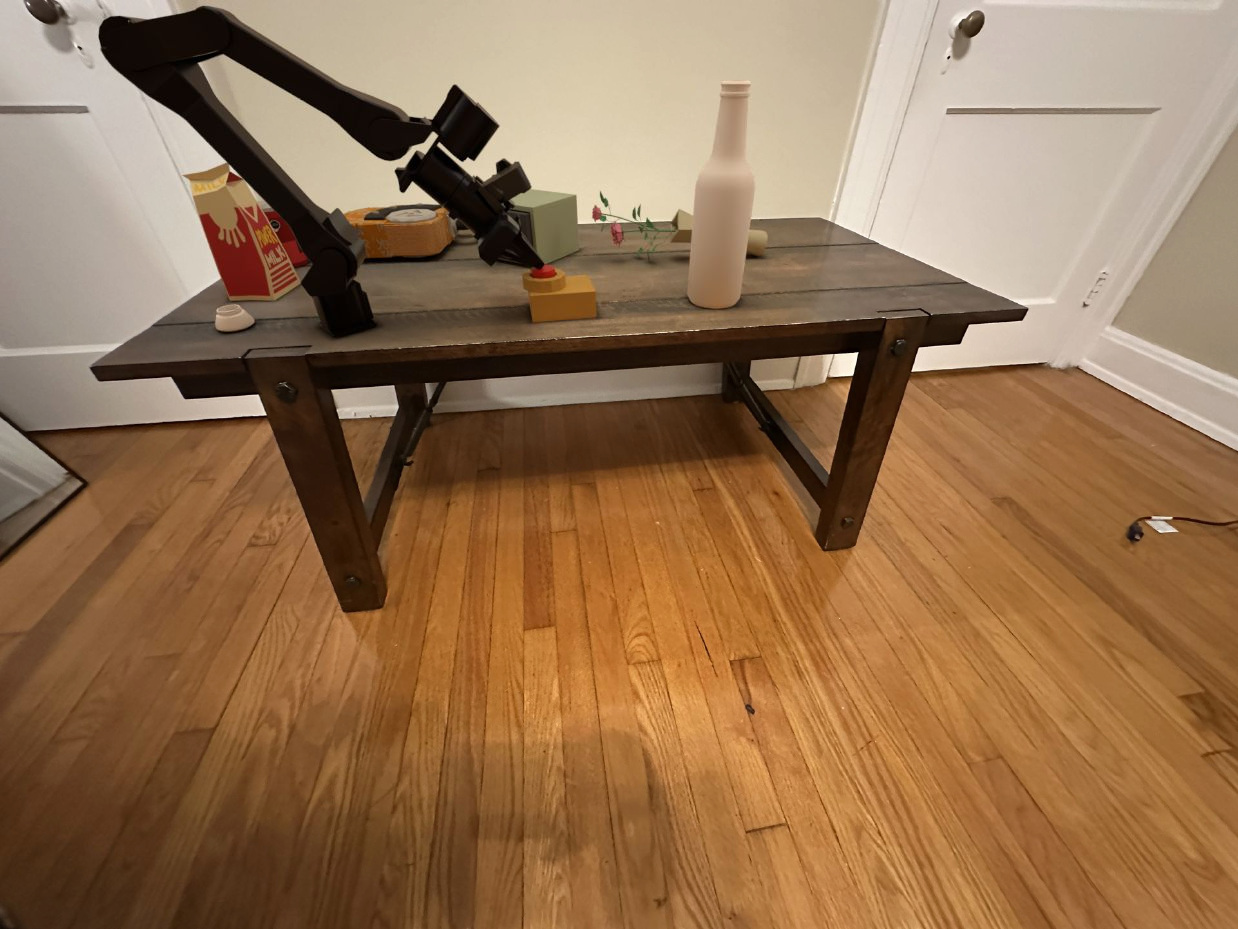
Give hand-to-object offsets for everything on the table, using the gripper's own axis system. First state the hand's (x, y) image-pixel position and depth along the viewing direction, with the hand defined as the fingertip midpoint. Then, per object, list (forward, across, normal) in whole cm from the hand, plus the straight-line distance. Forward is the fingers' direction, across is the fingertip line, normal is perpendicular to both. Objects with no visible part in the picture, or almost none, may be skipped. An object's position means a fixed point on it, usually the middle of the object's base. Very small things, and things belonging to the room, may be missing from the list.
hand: (542, 266), depth 81 cm
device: (-13, +43, +23) cm, 51 cm away
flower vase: (+26, +23, -15) cm, 38 cm away
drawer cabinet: (+5, +33, +5) cm, 34 cm away
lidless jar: (-28, +3, +38) cm, 48 cm away
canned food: (-29, +36, +39) cm, 61 cm away
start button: (+2, 0, +2) cm, 3 cm away
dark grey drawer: (+2, +30, +6) cm, 30 cm away
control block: (+7, 0, +3) cm, 8 cm away
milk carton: (-29, +19, +39) cm, 52 cm away
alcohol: (+25, 0, -14) cm, 29 cm away
